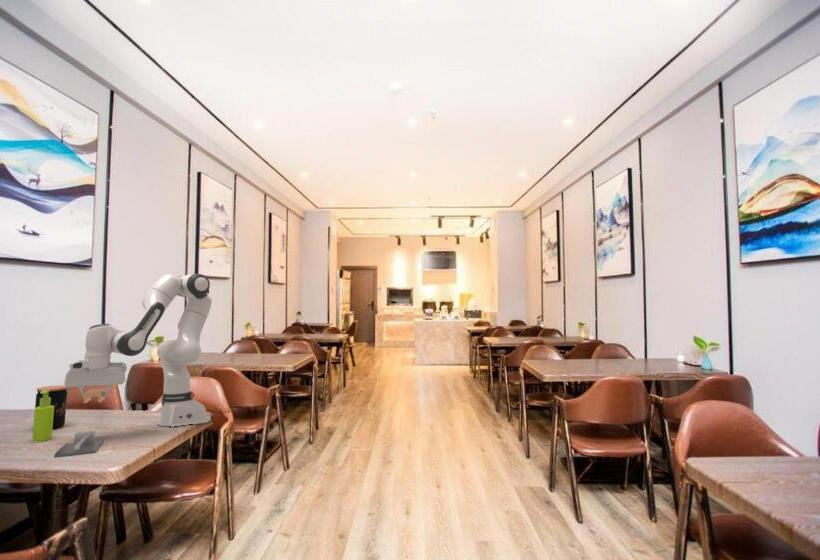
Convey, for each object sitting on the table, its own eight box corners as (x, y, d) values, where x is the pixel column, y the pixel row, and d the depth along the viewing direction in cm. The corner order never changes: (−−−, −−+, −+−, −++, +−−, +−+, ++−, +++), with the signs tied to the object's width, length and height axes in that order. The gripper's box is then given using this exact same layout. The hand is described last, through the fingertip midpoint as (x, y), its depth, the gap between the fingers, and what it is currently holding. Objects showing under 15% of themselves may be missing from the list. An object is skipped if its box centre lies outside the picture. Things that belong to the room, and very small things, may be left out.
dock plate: (103, 442, 168) (104, 429, 168) (95, 452, 155) (96, 439, 156) (65, 446, 162) (66, 433, 163) (54, 457, 150) (55, 443, 150)
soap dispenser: (29, 443, 166) (33, 392, 167) (35, 438, 172) (39, 389, 173) (48, 441, 168) (52, 390, 170) (53, 436, 174) (57, 388, 176)
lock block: (105, 398, 178) (105, 388, 179) (100, 402, 170) (101, 392, 171) (89, 399, 176) (89, 389, 176) (83, 403, 168) (84, 393, 168)
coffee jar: (46, 432, 181) (49, 389, 183) (26, 430, 183) (30, 388, 185) (70, 425, 192) (73, 385, 193) (51, 424, 194) (55, 384, 195)
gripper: (128, 361, 182) (126, 393, 181) (69, 363, 173) (66, 397, 172) (125, 362, 176) (123, 396, 175) (64, 364, 167) (61, 400, 166)
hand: (94, 396), depth 173 cm, fingers closed on lock block, 6 cm apart
